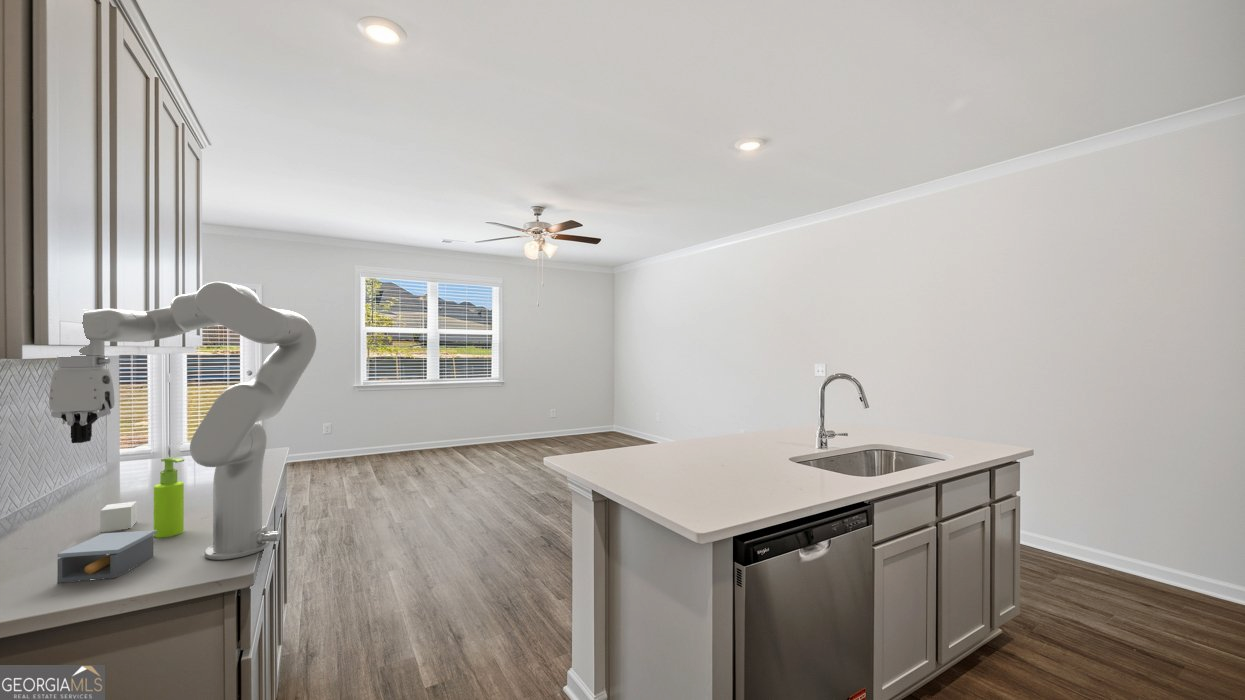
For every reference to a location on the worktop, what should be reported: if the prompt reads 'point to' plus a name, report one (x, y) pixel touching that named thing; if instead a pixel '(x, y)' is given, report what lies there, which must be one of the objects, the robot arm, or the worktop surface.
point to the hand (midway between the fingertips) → (81, 441)
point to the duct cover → (107, 543)
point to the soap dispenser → (169, 502)
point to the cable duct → (103, 563)
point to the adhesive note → (118, 516)
